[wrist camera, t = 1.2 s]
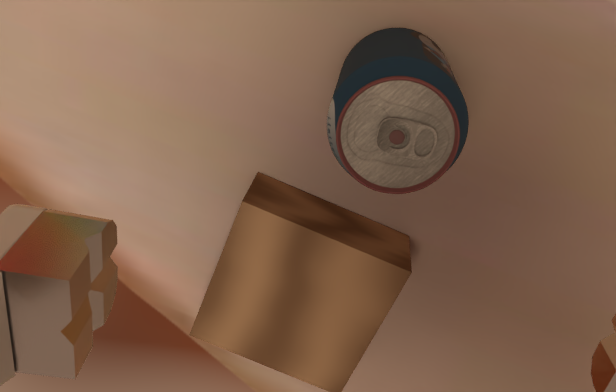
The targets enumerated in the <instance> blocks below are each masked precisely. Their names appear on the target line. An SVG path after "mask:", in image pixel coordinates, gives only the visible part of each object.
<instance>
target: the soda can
mask: <svg viewBox="0 0 616 392" xmlns="http://www.w3.org/2000/svg"><path fill="white" fill-rule="evenodd" d="M467 133H468V111H467V106H466V103H465V100H464V97H463V95H462V93H461V91H460V88H459V86H458V84H457V82H456V80H455V78H454V75H453V73H452V71H451V69H450V67H449V65H448V62H447V60H446V58H445V56H444V54H443V53H442V51H441V50H440V48H439V47H438V46H437V45H436V44H435V43H434V42H433V41H432V40H431V39H429V38H428V37H427V36H425V35H423V34H421V33H419V32H417V31H414V30H410V29H405V28H389V29H384V30H380V31H377V32H374V33H372V34H370V35H368V36H367V37H365V38H364V39H362V40H361V41H360V42H359V43H358V44H356V45H355V47H354V48H353V49H352V50H351V51H350V53H349V54H348V56H347V58H346V59H345V62H344V64H343V67H342V70H341V73H340V76H339V79H338V82H337V85H336V88H335V91H334V94H333V97H332V100H331V104H330V107H329V111H328V116H327V134H328V139H329V143H330V146H331V149H332V151H333V153H334V155H335V157H336V159H337V160H338V162H339V163H340V165H341V166H342V167H343V168H344V169H345V170H346V171H347V172H348V173H349V174H350V175H351V176H352V177H354V178H355V179H356V180H357V181H358V182H360V183H361V184H363V185H364V186H366V187H368V188H370V189H373V190H375V191H379V192H383V193H390V194H403V193H410V192H414V191H417V190H420V189H423V188H425V187H427V186H429V185H430V184H432V183H433V182H435V181H436V180H437V179H439V178H440V177H441V176H442V175H443V174H444V173H445V172H446V171H447V170H448V169H449V168H450V167H451V166H452V165H453V163H454V162H455V161H456V159H457V158H458V156H459V155H460V153H461V151H462V149H463V146H464V144H465V141H466V137H467Z"/></svg>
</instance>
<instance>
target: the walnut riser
mask: <svg viewBox="0 0 616 392" xmlns="http://www.w3.org/2000/svg"><path fill="white" fill-rule="evenodd" d="M411 273H412V271H411V257H410V244H409V236H408V235H405V234H403V233H401V232H398V231H396V230H393V229H391V228H389V227H386V226H384V225H382V224H379V223H377V222H375V221H372V220H370V219H368V218H365V217H363V216H360V215H358V214H356V213H353V212H351V211H349V210H346V209H344V208H342V207H339V206H337V205H335V204H332V203H330V202H327V201H325V200H323V199H320V198H318V197H316V196H313V195H311V194H309V193H306V192H304V191H302V190H299V189H297V188H294V187H292V186H290V185H287V184H285V183H283V182H280V181H278V180H276V179H273V178H271V177H269V176H266V175H264V174H261V173H259V172H258V173H257V175H256V177H255V179H254V180H253V182H252V184H251V186H250V188H249V190H248V192H247V193H246V195H245V197H244V199H243V201H242V203H241V206H240V208H239V211H238V213H237V216H236V218H235V221H234V223H233V226H232V229H231V231H230V234H229V236H228V239H227V241H226V244H225V246H224V249H223V251H222V254H221V256H220V259H219V261H218V264H217V266H216V269H215V272H214V274H213V277H212V279H211V282H210V284H209V287H208V289H207V292H206V294H205V297H204V299H203V302H202V304H201V307H200V309H199V312H198V315H197V317H196V320H195V322H194V325H193V327H192V330H191V332H190V335H191V336H193V337H196V338H198V339H201V340H203V341H206V342H208V343H211V344H213V345H216V346H218V347H221V348H223V349H225V350H228V351H230V352H233V353H235V354H238V355H240V356H243V357H245V358H248V359H250V360H253V361H255V362H258V363H260V364H262V365H265V366H267V367H270V368H272V369H275V370H277V371H280V372H282V373H285V374H287V375H290V376H292V377H295V378H297V379H299V380H302V381H304V382H307V383H309V384H312V385H314V386H317V387H319V388H322V389H324V390H327V391H329V392H341V391H342V390H343V388H344V386H345V385H346V383H347V381H348V380H349V378H350V376H351V374H352V373H353V371H354V369H355V368H356V366H357V364H358V363H359V361H360V359H361V358H362V356H363V354H364V352H365V351H366V349H367V347H368V346H369V344H370V342H371V341H372V339H373V337H374V335H375V334H376V332H377V330H378V329H379V327H380V325H381V324H382V322H383V320H384V318H385V317H386V315H387V313H388V312H389V310H390V308H391V307H392V305H393V303H394V301H395V300H396V298H397V296H398V295H399V293H400V291H401V290H402V288H403V286H404V285H405V283H406V281H407V279H408V278H409V276H410V274H411Z"/></svg>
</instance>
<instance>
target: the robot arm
mask: <svg viewBox="0 0 616 392" xmlns="http://www.w3.org/2000/svg"><path fill="white" fill-rule="evenodd" d="M116 245H117V227H116V224H115V223H114V221H113V220H109V219H103V218H97V217H92V216H86V215H81V214H75V213H69V212H64V211H58V210H52V209H49V210H48V209H46V208H41V207H34V206H28V205H21V204H14V205H10V206H8V207H7V208H6V209H5V210H4V211H3V212H2V213H1V214H0V386H1V385H2V384H4V383H5V382H7V381H8V380H10V379H11V378H13V377H14V376H15V372H17V373H25V374H35V375H43V376H51V377H60V378H68V379H76V377H77V375H78V374H79V372H80V370H81V368H82V366H83V364H84V362H85V360H86V358H87V356H88V354H89V353H90V351H91V349H92V347H93V331H94V330H96V329H97V328H99V327H101V326H103V325H104V323H105V321H106V319H107V317H108V315H109V313H110V311H111V307H112V304H113V301H114V297H115V294H116V287H117V266H116V264H115V263H114V262H113V260H112V259H111V258H110V255H111V254H112V252H113V250H114V248H115V247H116ZM612 323H613V327H614V330H615V332H614V333H613V334H611V335H609V336H608V337H606V338H604V339H603V340H601V341H600V342H599V344H598V346H597V348H596V350H595V352H594V354H593V356H592V366H591V376H592V381H593V386H594V388H595V390H596V392H616V314H615V316H614V317H613V319H612Z"/></svg>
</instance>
